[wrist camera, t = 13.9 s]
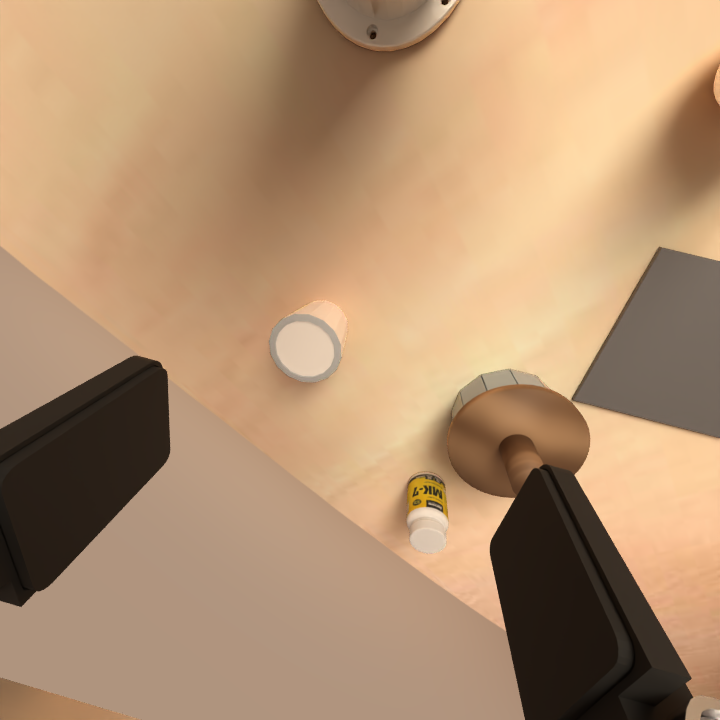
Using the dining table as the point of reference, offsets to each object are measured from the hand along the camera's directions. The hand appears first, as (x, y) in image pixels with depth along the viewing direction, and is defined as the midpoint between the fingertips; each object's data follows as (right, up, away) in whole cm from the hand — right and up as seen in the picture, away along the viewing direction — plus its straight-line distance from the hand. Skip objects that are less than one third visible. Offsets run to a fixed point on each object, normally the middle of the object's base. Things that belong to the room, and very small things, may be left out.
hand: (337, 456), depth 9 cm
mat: (+33, +3, +25) cm, 41 cm away
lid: (+16, -6, +26) cm, 31 cm away
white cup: (-3, +6, +29) cm, 30 cm away
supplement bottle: (+9, -14, +37) cm, 40 cm away
